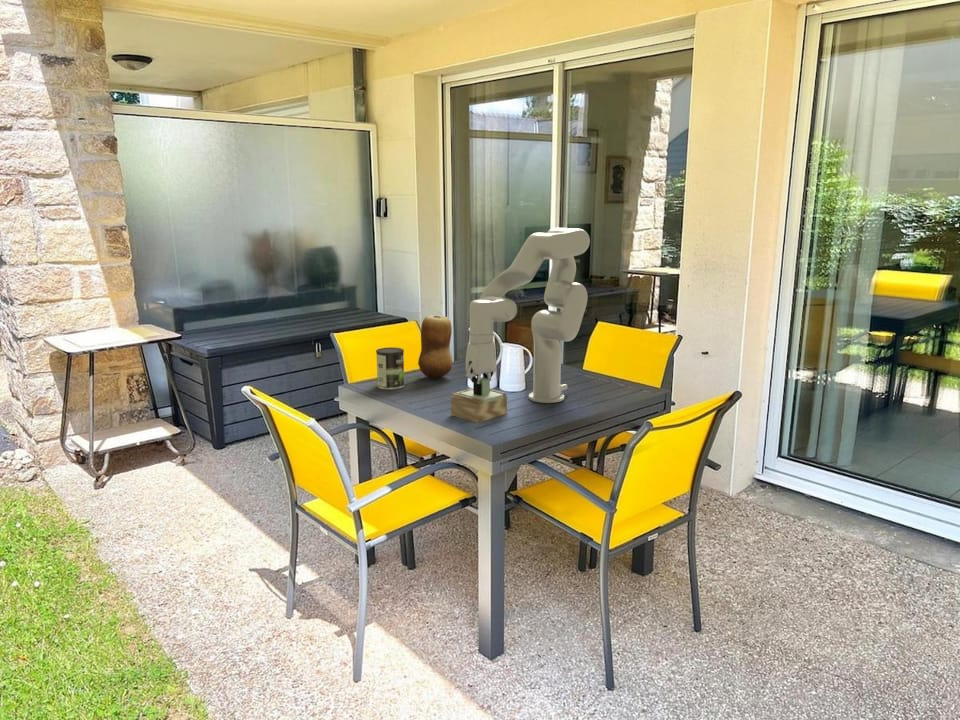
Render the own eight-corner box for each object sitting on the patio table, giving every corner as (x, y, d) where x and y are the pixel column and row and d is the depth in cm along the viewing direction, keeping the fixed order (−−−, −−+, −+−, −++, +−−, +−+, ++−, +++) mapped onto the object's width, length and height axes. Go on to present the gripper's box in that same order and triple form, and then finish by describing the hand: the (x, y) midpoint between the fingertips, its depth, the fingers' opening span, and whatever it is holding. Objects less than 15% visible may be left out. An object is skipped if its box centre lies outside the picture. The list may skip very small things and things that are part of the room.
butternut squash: (451, 382, 273) (451, 318, 267) (417, 382, 273) (415, 318, 267) (453, 374, 286) (452, 312, 281) (420, 374, 286) (418, 313, 281)
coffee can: (408, 383, 271) (407, 347, 268) (398, 390, 262) (397, 353, 258) (383, 382, 274) (382, 346, 271) (372, 388, 264) (371, 351, 261)
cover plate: (479, 391, 238) (479, 373, 236) (503, 397, 230) (503, 379, 229) (459, 396, 231) (459, 378, 230) (483, 403, 224) (483, 384, 222)
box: (481, 406, 242) (481, 385, 240) (506, 413, 234) (507, 392, 232) (451, 414, 232) (450, 393, 230) (477, 422, 224) (477, 401, 222)
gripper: (490, 333, 235) (490, 387, 239) (454, 340, 223) (455, 396, 227) (507, 336, 229) (506, 391, 233) (471, 343, 218) (471, 401, 222)
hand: (481, 393), depth 230 cm, fingers closed on cover plate, 3 cm apart
